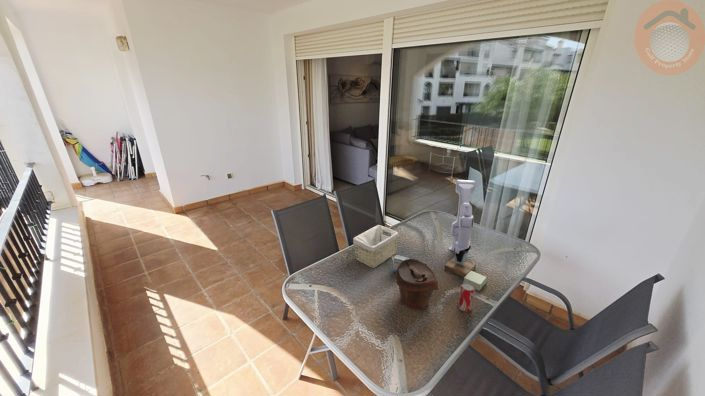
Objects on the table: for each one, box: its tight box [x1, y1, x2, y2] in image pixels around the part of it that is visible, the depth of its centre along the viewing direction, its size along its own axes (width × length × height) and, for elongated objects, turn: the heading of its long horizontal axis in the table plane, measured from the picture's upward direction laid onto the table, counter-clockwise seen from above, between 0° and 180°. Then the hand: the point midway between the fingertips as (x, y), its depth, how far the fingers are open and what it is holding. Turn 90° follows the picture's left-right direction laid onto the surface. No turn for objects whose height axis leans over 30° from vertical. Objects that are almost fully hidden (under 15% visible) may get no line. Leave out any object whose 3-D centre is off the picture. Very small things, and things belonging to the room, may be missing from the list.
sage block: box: [463, 270, 487, 291], centre depth 142 cm, size 8×8×4 cm
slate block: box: [454, 251, 468, 265], centre depth 152 cm, size 4×4×6 cm
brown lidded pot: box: [394, 258, 439, 311], centre depth 129 cm, size 18×20×18 cm
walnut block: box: [444, 256, 477, 278], centre depth 154 cm, size 12×12×3 cm
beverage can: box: [457, 282, 476, 313], centre depth 124 cm, size 6×6×12 cm
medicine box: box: [392, 254, 411, 273], centre depth 151 cm, size 8×4×9 cm, turn 62°
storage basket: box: [352, 224, 399, 269], centre depth 165 cm, size 24×16×15 cm
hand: (461, 259), depth 152 cm, fingers closed on slate block, 4 cm apart
